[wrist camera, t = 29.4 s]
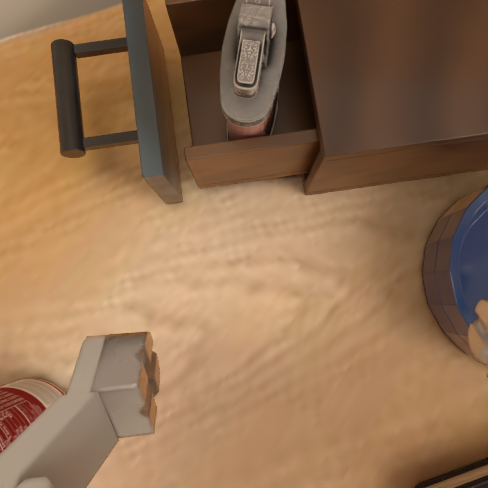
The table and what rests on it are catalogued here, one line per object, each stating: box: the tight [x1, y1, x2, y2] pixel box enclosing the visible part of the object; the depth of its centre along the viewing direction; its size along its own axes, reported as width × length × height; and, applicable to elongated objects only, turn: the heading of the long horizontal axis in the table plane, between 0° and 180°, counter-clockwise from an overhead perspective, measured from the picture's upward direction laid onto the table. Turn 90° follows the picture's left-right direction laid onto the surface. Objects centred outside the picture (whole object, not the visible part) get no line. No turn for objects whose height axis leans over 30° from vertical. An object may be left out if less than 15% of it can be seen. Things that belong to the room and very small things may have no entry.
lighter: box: [220, 0, 287, 141], centre depth 25 cm, size 8×3×10 cm, turn 172°
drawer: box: [51, 0, 320, 204], centre depth 28 cm, size 17×12×7 cm
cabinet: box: [295, 0, 488, 195], centre depth 28 cm, size 14×13×9 cm
